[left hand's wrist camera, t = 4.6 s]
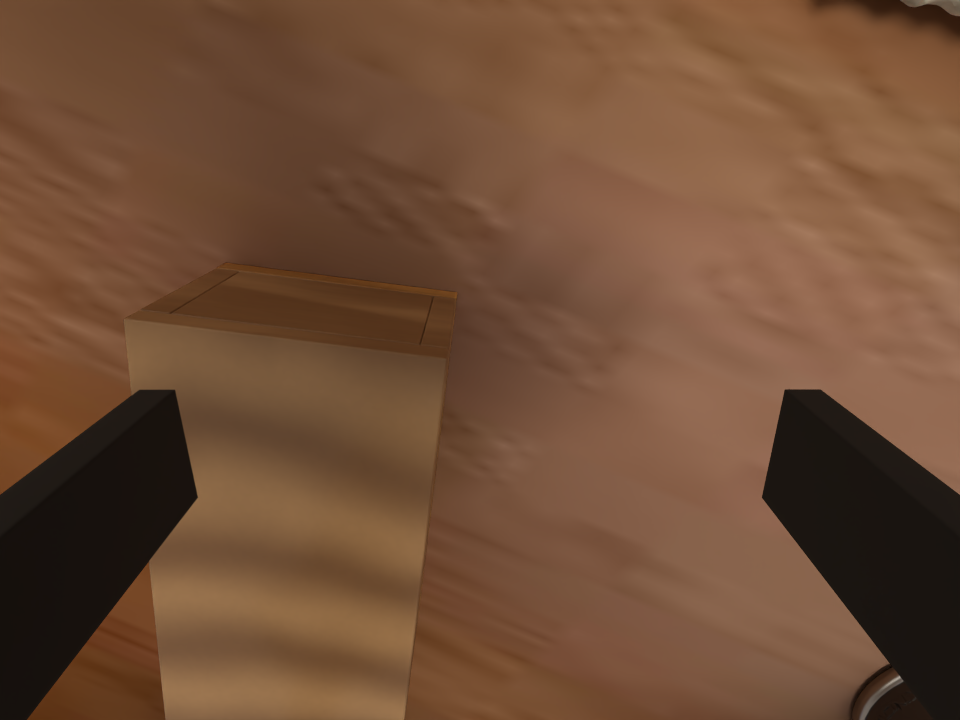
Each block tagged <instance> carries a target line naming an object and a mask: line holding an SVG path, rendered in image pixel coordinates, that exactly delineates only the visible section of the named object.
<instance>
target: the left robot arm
mask: <svg viewBox="0 0 960 720" xmlns="http://www.w3.org/2000/svg"><path fill="white" fill-rule="evenodd" d="M197 498H198V495H197V490H196V486H195V481H194V476H193V472H192V467H191V462H190V457H189V453H188V448H187V443H186V439H185V434H184V429H183V424H182V420H181V415H180V410H179V406H178V401H177V396H176V391H175V390H138V391H137V392H136V393H134V394H133V395H132V396H130V397H129V398H128V399H126V400H125V401H124V402H122V403H121V404H120V405H118V406H117V407H116V408H115V409H113V410H112V411H111V412H109V413H108V414H107V415H105V416H104V417H103V418H101V419H100V420H99V421H97V422H96V423H95V424H93V425H92V426H91V427H89V428H88V429H87V430H85V431H84V432H83V433H81V434H80V435H79V436H78V437H76V438H75V439H74V440H72V441H71V442H70V443H68V444H67V445H66V446H64V447H63V448H62V449H60V450H59V451H58V452H56V453H55V454H54V455H52V456H51V457H50V458H48V459H47V460H46V461H44V462H43V463H42V464H40V465H39V466H38V467H37V468H35V469H34V470H33V471H31V472H30V473H29V474H27V475H26V476H25V477H23V478H22V479H21V480H19V481H18V482H17V483H15V484H14V485H13V486H11V487H10V488H9V489H7V490H6V491H5V492H3V493H2V494H1V495H0V720H27V719H28V717H29V716H30V715H31V713H32V712H33V711H34V710H35V708H36V707H37V706H38V704H39V703H40V702H41V700H42V699H43V698H44V697H45V695H46V694H47V693H48V691H49V690H50V689H51V688H52V686H53V685H54V684H55V682H56V681H57V680H58V678H59V677H60V676H61V675H62V673H63V672H64V671H65V669H66V668H67V667H68V665H69V664H70V663H71V662H72V660H73V659H74V658H75V656H76V655H77V654H78V653H79V651H80V650H81V649H82V647H83V646H84V645H85V643H86V642H87V641H88V640H89V638H90V637H91V636H92V634H93V633H94V632H95V630H96V629H97V628H98V627H99V625H100V624H101V623H102V621H103V620H104V619H105V618H106V616H107V615H108V614H109V612H110V611H111V610H112V608H113V607H114V606H115V605H116V603H117V602H118V601H119V599H120V598H121V597H122V595H123V594H124V593H125V592H126V590H127V589H128V588H129V586H130V585H131V584H132V583H133V581H134V580H135V579H136V577H137V576H138V575H139V573H140V572H141V571H142V570H143V568H144V567H145V566H146V564H147V563H148V562H149V560H150V559H151V558H152V557H153V555H154V554H155V553H156V551H157V550H158V549H159V548H160V546H161V545H162V544H163V542H164V541H165V540H166V538H167V537H168V536H169V535H170V533H171V532H172V531H173V529H174V528H175V527H176V525H177V524H178V523H179V522H180V520H181V519H182V518H183V516H184V515H185V514H186V513H187V511H188V510H189V509H190V507H191V506H192V505H193V503H194V502H195V501H196V500H197ZM762 498H763V500H764V501H765V502H766V503H767V505H768V506H769V507H770V509H771V510H772V511H773V513H774V514H775V515H776V516H777V518H778V519H779V520H780V522H781V523H782V524H783V525H784V527H785V528H786V529H787V531H788V532H789V533H790V535H791V536H792V537H793V538H794V540H795V541H796V542H797V544H798V545H799V546H800V548H801V549H802V550H803V551H804V553H805V554H806V555H807V557H808V558H809V559H810V560H811V562H812V563H813V564H814V566H815V567H816V568H817V570H818V571H819V572H820V573H821V575H822V576H823V577H824V579H825V580H826V581H827V583H828V584H829V585H830V586H831V588H832V589H833V590H834V592H835V593H836V594H837V595H838V597H839V598H840V599H841V601H842V602H843V603H844V605H845V606H846V607H847V608H848V610H849V611H850V612H851V614H852V615H853V616H854V618H855V619H856V620H857V621H858V623H859V624H860V625H861V627H862V628H863V629H864V630H865V632H866V633H867V634H868V636H869V637H870V638H871V640H872V641H873V642H874V643H875V645H876V646H877V647H878V649H879V650H880V651H881V653H882V654H883V655H884V656H885V658H886V659H887V660H888V662H889V663H890V664H891V665H892V667H893V668H894V669H895V671H896V672H897V673H898V675H899V676H900V677H901V678H902V680H903V681H904V682H905V684H906V685H907V686H908V688H909V689H910V690H911V691H912V693H913V694H914V695H915V697H916V698H917V699H918V700H919V702H920V703H921V704H922V706H923V707H924V708H925V710H926V711H927V712H928V713H929V715H930V716H931V717H932V719H933V720H960V495H959V494H958V493H957V492H955V491H954V490H953V489H951V488H950V487H949V486H947V485H946V484H945V483H943V482H942V481H941V480H939V479H938V478H937V477H935V476H934V475H933V474H931V473H930V472H929V471H927V470H926V469H925V468H923V467H922V466H921V465H920V464H918V463H917V462H916V461H914V460H913V459H912V458H910V457H909V456H908V455H906V454H905V453H904V452H902V451H901V450H900V449H898V448H897V447H896V446H894V445H893V444H892V443H890V442H889V441H888V440H886V439H885V438H884V437H882V436H881V435H880V434H879V433H877V432H876V431H875V430H873V429H872V428H871V427H869V426H868V425H867V424H865V423H864V422H863V421H861V420H860V419H859V418H857V417H856V416H855V415H853V414H852V413H851V412H849V411H848V410H847V409H845V408H844V407H843V406H842V405H840V404H839V403H838V402H836V401H835V400H834V399H832V398H831V397H830V396H828V395H827V394H826V393H824V392H823V391H822V390H785V391H784V396H783V401H782V406H781V410H780V415H779V420H778V424H777V429H776V434H775V439H774V443H773V448H772V453H771V457H770V462H769V467H768V472H767V476H766V481H765V486H764V490H763V495H762Z"/></svg>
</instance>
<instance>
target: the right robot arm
mask: <svg viewBox="0 0 960 720" xmlns="http://www.w3.org/2000/svg"><path fill="white" fill-rule="evenodd" d="M852 720H933V719H932V717H931V716H930V715H929V713H928V712H927V711H926V710H925V708H924V707H923V706H922V704H921V703H920V702H919V700H918V699H917V698H916V697H915V695H914V694H913V693H912V691H911V690H910V689H909V688H908V686H907V685H906V684H905V682H904V681H903V680H902V678H901V677H900V676H899V675H898V673H897V672H896V671H895V669H894V668H893V667H892V668H890V669H888V670H887V671H885V672H883V673H882V674H880V675H879V676H878V677H876V678H875V679H874V680H873V681H871V682H870V683H869V684H868V685H867V686H866V687H865V688H864V690H863V691H862V692H861V694H860V695H859V697H858V698H857V700H856V702H855V705H854V707H853V711H852Z"/></svg>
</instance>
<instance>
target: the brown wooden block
mask: <svg viewBox="0 0 960 720" xmlns="http://www.w3.org/2000/svg"><path fill="white" fill-rule="evenodd" d="M456 301H457V292H450V291H442V290H435V289H427V288H419V287H411V286H404V285H396V284H388V283H380V282H372V281H365V280H357V279H349V278H341V277H334V276H326V275H318V274H310V273H302V272H295V271H287V270H279V269H271V268H264V267H256V266H248V265H240V264H232V263H224V264H222V265H220V266H219V267H217V269H215V270H213V271H211V272H209V273H207V274H205V275H204V276H202V277H200V278H198V279H196V280H194V281H192V282H191V283H189V284H187V285H185V286H183V287H181V288H179V289H178V290H176V291H174V292H172V293H170V294H168V295H167V296H165V297H163V298H161V299H159V300H157V301H155V302H154V303H152V304H150V305H148V306H146V307H144V308H142V309H141V310H140V311H138V312H136V313H134V314H132V315H130V316H128V317H126V318H125V319H124V329H125V338H126V348H127V358H128V367H129V377H130V386H131V396H132V395H133V394H134V393H136V392H137V391H138V390H175V391H176V396H177V401H178V406H179V410H180V415H181V420H182V424H183V429H184V434H185V439H186V443H187V448H188V453H189V457H190V462H191V467H192V472H193V476H194V481H195V486H196V490H197V495H198V498H197V500H196V501H195V502H194V503H193V505H192V506H191V507H190V509H189V510H188V511H187V513H186V514H185V515H184V516H183V518H182V519H181V520H180V522H179V523H178V524H177V525H176V527H175V528H174V529H173V531H172V532H171V533H170V535H169V536H168V537H167V538H166V540H165V541H164V542H163V544H162V545H161V546H160V548H159V549H158V550H157V551H156V553H155V554H154V555H153V557H152V558H151V559H150V560H149V567H150V577H151V586H152V596H153V605H154V615H155V624H156V634H157V643H158V653H159V662H160V672H161V681H162V691H163V701H164V710H165V720H405V714H406V706H407V698H408V690H409V683H410V675H411V667H412V660H413V652H414V644H415V636H416V629H417V621H418V615H419V607H420V599H421V590H422V582H423V574H424V566H425V557H426V549H427V541H428V532H429V524H430V516H431V508H432V499H433V491H434V483H435V475H436V466H437V458H438V450H439V441H440V433H441V425H442V417H443V408H444V400H445V392H446V384H447V375H448V367H449V359H450V350H451V342H452V334H453V326H454V317H455V309H456Z"/></svg>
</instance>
